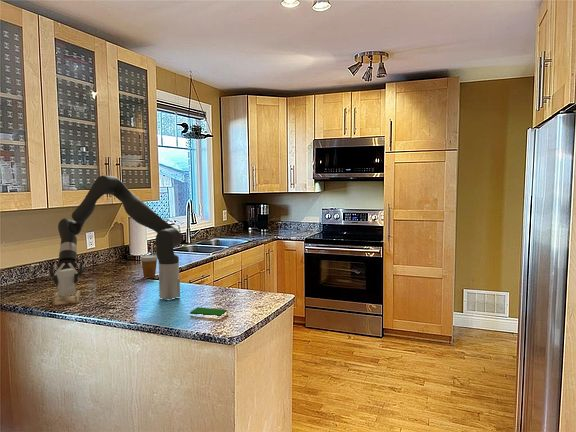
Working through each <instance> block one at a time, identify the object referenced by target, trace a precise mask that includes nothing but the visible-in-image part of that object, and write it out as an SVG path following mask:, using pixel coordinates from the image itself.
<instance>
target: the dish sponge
mask: <svg viewBox="0 0 576 432" xmlns="http://www.w3.org/2000/svg"><path fill="white" fill-rule="evenodd" d="M226 311H227V312H228V309H221V308H209V307H201V306H200V307H199V306H198V307H196V308H193V310H191V311H190V312H189V315H190V314H203V315H217V316H221V315H222V314H224V313H225V312H226Z"/></svg>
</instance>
